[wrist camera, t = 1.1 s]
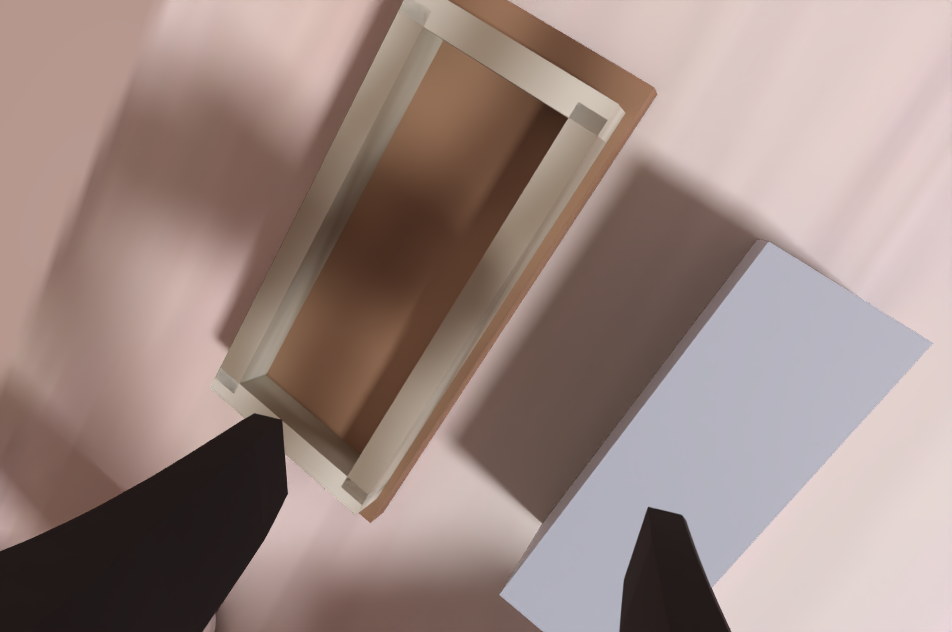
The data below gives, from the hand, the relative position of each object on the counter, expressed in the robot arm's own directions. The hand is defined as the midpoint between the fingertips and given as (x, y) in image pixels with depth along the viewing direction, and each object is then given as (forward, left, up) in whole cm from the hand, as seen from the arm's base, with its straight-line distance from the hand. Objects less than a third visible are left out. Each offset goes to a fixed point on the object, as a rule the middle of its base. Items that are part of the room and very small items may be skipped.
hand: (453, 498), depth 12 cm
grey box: (-4, -1, -10) cm, 11 cm away
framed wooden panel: (+7, 0, -10) cm, 12 cm away
